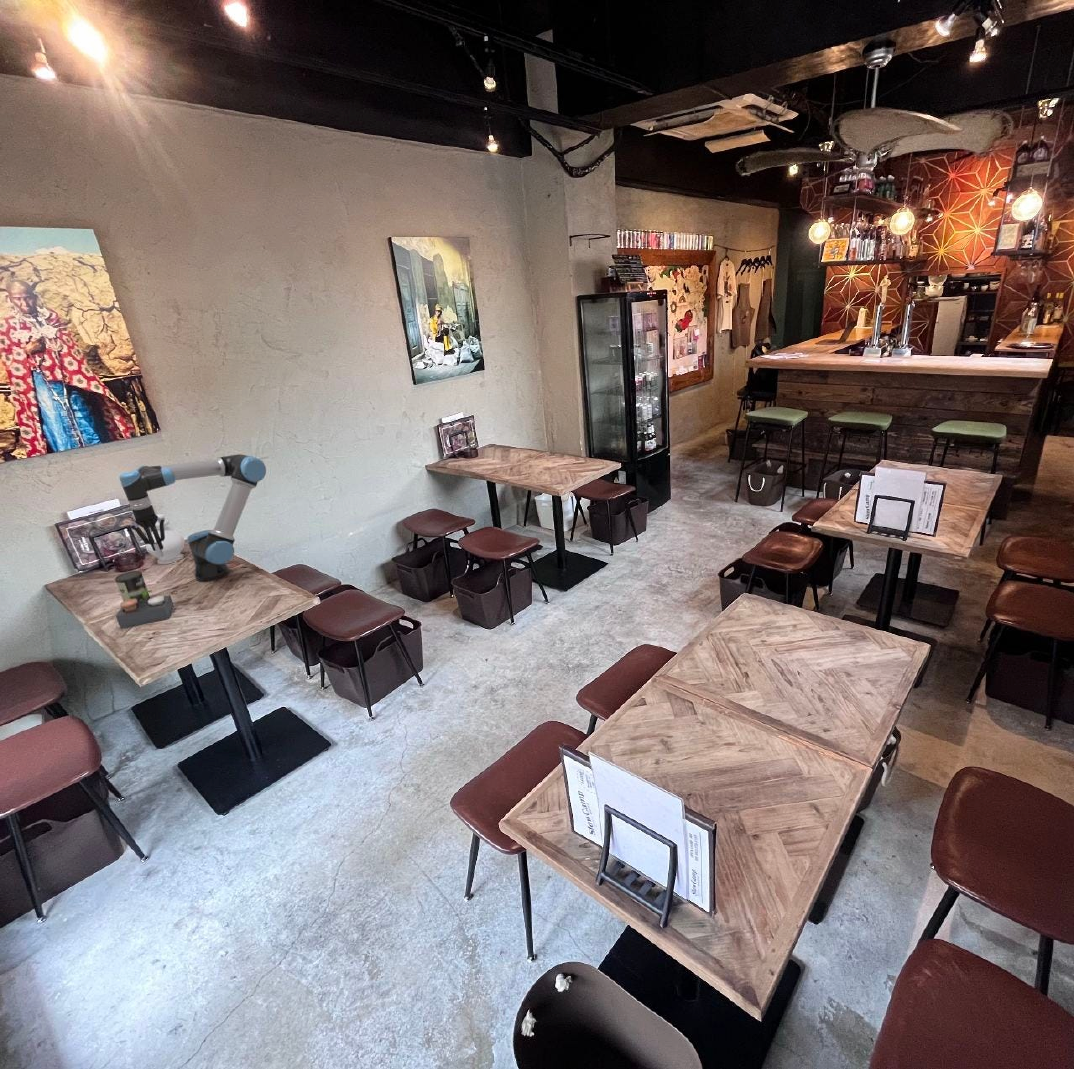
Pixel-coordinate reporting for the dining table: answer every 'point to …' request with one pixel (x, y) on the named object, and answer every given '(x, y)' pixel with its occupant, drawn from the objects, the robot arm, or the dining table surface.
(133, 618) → the plunger block
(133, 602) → the terracotta plunger
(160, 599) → the cream plunger
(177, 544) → the decorative vase
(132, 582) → the coffee can
